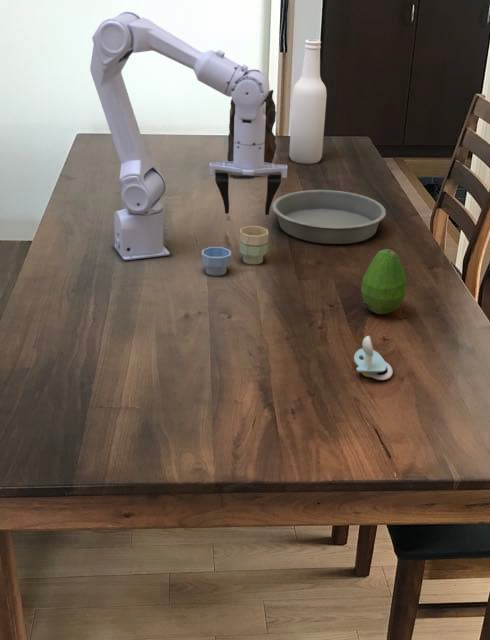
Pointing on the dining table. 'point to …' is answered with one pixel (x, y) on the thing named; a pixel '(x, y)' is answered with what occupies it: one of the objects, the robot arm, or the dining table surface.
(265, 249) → the celadon bowl
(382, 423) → the dining table surface
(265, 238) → the ivory bowl
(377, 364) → the pacifier
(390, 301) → the avocado
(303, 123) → the alcohol
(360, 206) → the cake pan
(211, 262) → the blue bowl
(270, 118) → the owl
